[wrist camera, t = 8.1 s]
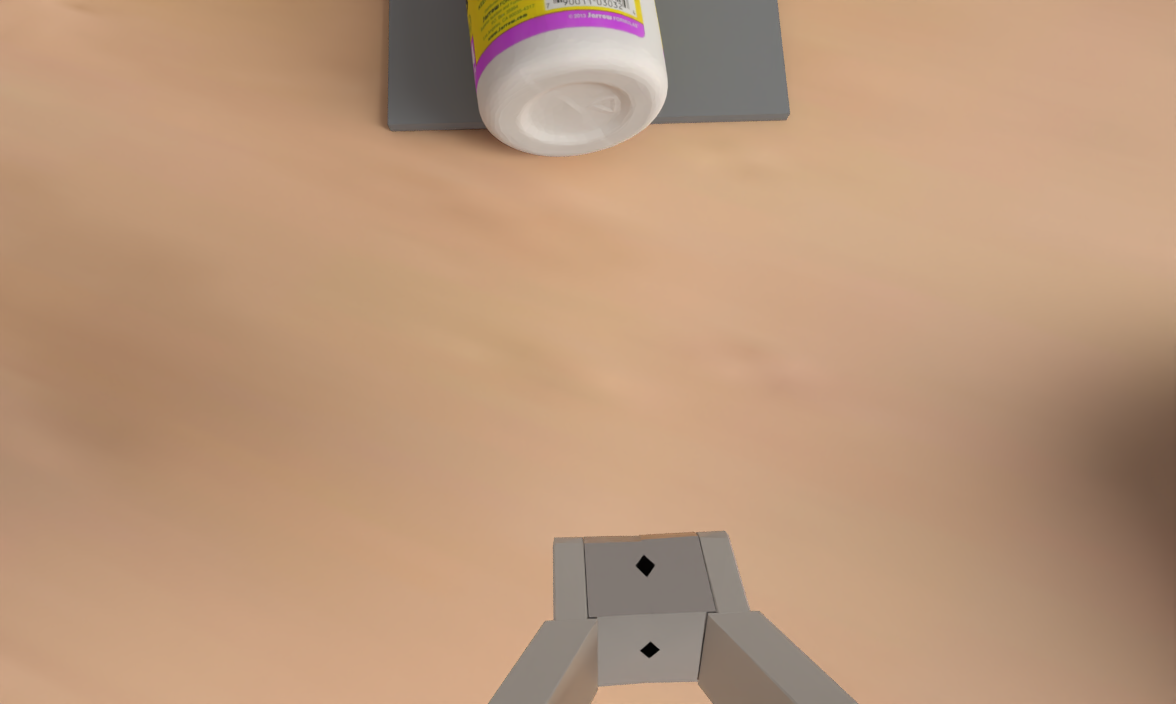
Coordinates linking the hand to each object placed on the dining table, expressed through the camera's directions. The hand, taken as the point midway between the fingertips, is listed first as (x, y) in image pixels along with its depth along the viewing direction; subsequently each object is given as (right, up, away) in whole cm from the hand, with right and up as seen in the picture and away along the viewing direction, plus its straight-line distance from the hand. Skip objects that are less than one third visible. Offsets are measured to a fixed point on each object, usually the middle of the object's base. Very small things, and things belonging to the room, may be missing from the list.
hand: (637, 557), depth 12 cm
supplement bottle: (-1, +12, +12) cm, 16 cm away
